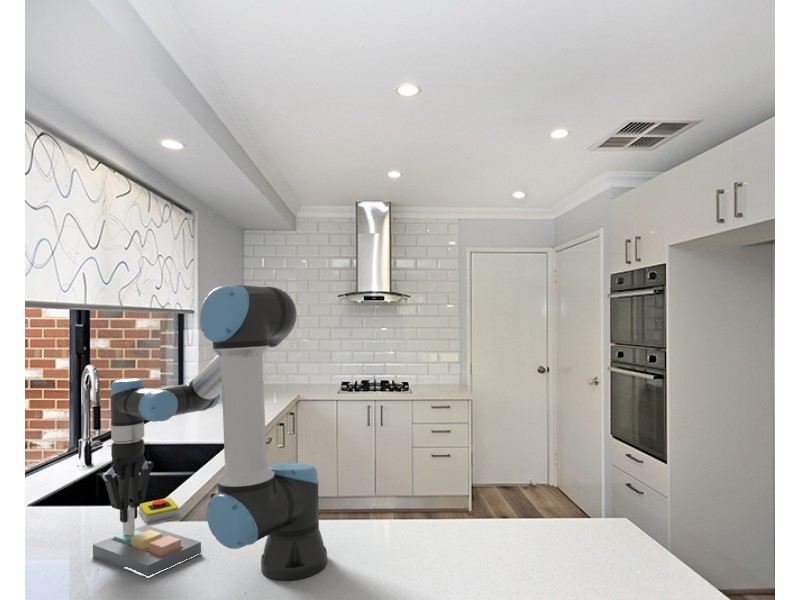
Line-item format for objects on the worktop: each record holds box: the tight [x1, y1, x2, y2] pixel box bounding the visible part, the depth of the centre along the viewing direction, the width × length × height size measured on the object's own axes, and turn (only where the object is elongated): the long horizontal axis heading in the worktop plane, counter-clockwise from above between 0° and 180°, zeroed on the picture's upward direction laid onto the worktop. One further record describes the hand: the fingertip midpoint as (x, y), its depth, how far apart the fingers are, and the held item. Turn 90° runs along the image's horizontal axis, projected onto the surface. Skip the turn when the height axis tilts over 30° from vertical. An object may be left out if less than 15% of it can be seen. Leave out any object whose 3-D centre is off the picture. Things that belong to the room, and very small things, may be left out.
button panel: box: [92, 524, 202, 576], centre depth 132 cm, size 23×14×3 cm, turn 58°
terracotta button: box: [149, 536, 181, 557], centre depth 128 cm, size 5×5×3 cm
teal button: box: [113, 530, 143, 544], centre depth 136 cm, size 5×5×3 cm
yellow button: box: [131, 530, 162, 551], centre depth 132 cm, size 5×5×3 cm
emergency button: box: [137, 497, 181, 526], centre depth 161 cm, size 9×4×15 cm
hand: (128, 533), depth 136 cm, fingers closed
